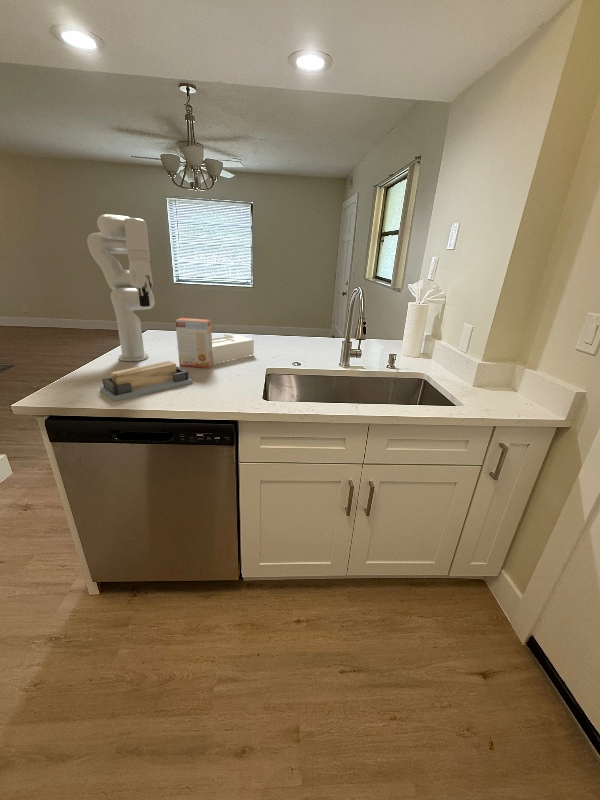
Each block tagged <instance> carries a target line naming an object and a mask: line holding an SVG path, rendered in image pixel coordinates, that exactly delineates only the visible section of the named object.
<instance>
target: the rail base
mask: <svg viewBox="0 0 600 800" xmlns="http://www.w3.org/2000/svg"><path fill="white" fill-rule="evenodd" d="M176 372H177V373H175V374H173V379H172V380H168V381H164V382H160V383H156V384H152V385H148V386H144V387H140V388H136V389H132V387H131V383H126V384H121V385H114V384H113V380H112V376H111V377H106V378H102V379H101V380H102V384H103V385H100V386H99V387H100V391H101V392H102V393H103V394H104V395H106V396H107V397H108V398H109V399H111V400H112V401H113V402H118V401H122V400H126V399H131V398H134V396H136V397H140V396H144V395H148V394H153V393H157V392H161V391H165V389H166V390H169V389H174V388H177V387H181V386H182V385H183V386H185V385H190V384H191V385H192V384H193V379H192V378H190V377H189V371H188V370H184V369H183V368H180V367H179V366H177V365H176ZM156 391H157V392H156ZM152 392H153V393H152ZM143 394H144V395H143ZM139 395H140V396H139ZM130 397H131V398H130Z"/></svg>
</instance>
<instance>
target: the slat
mask: <svg viewBox="0 0 600 800" xmlns="http://www.w3.org/2000/svg"><path fill="white" fill-rule="evenodd" d="M176 366H177V365H176V362H172V361H170V360H166V361H161V362H156V363H150V364H146V365H141V366H136V367H131V368H127V369H122V370H117V371H112V372H110V373H111V377H112V380H113V384H114V385H121V384H126V383H131V387H132V389H136V388H140V387H144V386H148V385H152V384H156V383H160V382H164V381H168V380H172V379H173V374H175V373H177V372H176Z"/></svg>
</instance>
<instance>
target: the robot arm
mask: <svg viewBox="0 0 600 800" xmlns="http://www.w3.org/2000/svg"><path fill="white" fill-rule="evenodd" d="M96 225H97V228H98V229H99V231H100V232H92V233H90V234H88V236H87V239H86V242H87V247H88V250H89V253H90V255H91V257H92V259H93V260H94V261H95V263H96V264H97V265H98V266H99V268H100V269H101V271H102V273H103V276H104V278H105V280H106V282H107V284H108V286H109V288H110V289H111V292H110V301H111V302H112V306H113V310H114V313H115V317H116V324H117V329H118V337H119V343H120V349H121V354H120V355H118V359H119V361H122V362H141V361H144V360H145V361H146V360H147V359H148V358H149V354H148V353H146V352H145V348H144V338H143V332H142V324H141V320H140V318H139V316H138V315H137V314H136V313H135V312H134V311H141V310H142V311H143V310H150V309H153V308H154V307H155V304H156V303H155V302H156V301H155V296H154V292H153V291H152V288H153V286H154V283H153V282H154V281H153V275H152V268H151V263H150V261H151V254H150V253H151V252H150V246H149V245H150V244H149V237H148V235H149V234H148V226H147V222H146V221H145V220H144V219H142V218H136V217H129V216H126V215H120V214H119V215H117V214H112V213H111V214H110V213H105V214H101V215H99V216H98V217H97V220H96ZM112 254H114V255H127V257H128V269H124V268H123V266H122V264H121V262H120V261H119V260H118V259H117V258H116V257H115V256H113V255H112Z"/></svg>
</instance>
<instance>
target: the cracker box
mask: <svg viewBox="0 0 600 800" xmlns="http://www.w3.org/2000/svg"><path fill="white" fill-rule="evenodd" d="M175 329H176V339H177V340H176V341H177V342H176V343H177V352H178V353H177V354H178V364H179V366H180V367H193V368H204V369H205V368H206V369H210V368H211V367H212V366H213V365H214V364H213V351H212V338H213V333H212V319H201V318H200V319H199V318H189V317H180V318H177V319H175Z"/></svg>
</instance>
